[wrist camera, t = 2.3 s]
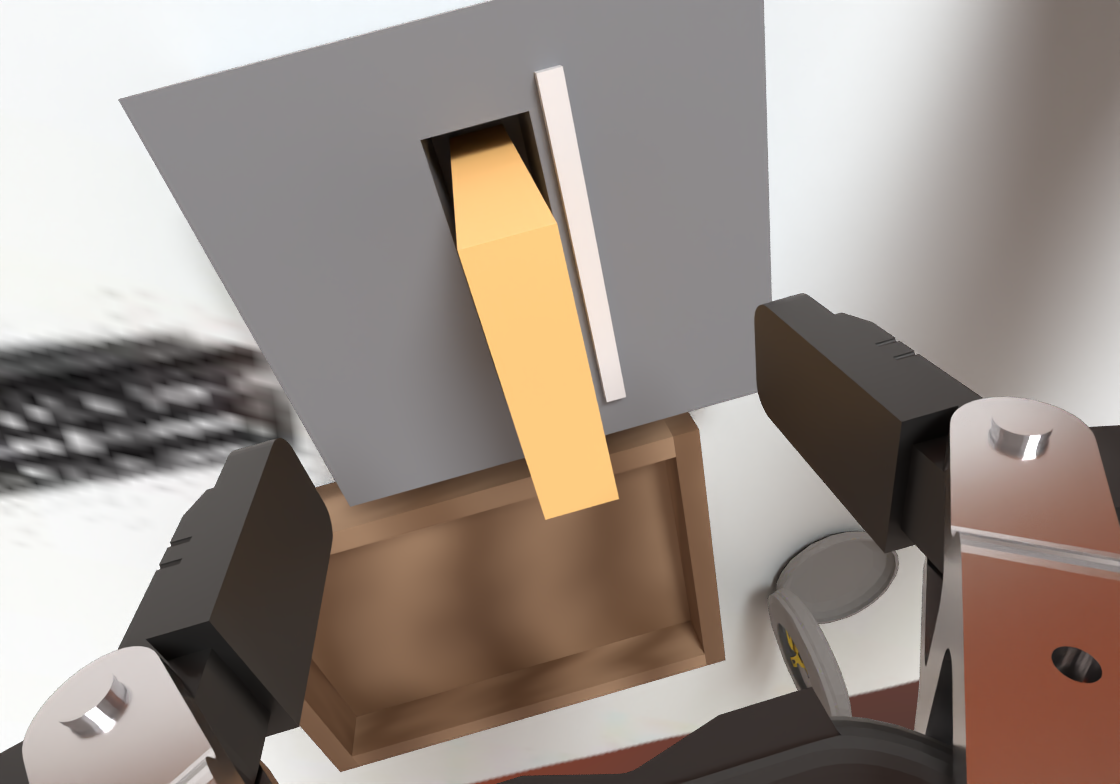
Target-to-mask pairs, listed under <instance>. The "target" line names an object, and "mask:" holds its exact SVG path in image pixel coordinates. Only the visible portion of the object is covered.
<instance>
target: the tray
mask: <svg viewBox="0 0 1120 784" xmlns="http://www.w3.org/2000/svg"><path fill="white" fill-rule="evenodd" d="M605 439H606V443H607V447H608V452H609V456H610V461H611V465H612V470H613V474H614V478H615V483H616V487H617V492H618V496H619V499H617V500H613V501H610V502H606V503H603V504H599V505H596V506H592V507H589V508H585V509H582V510H578V511H575V512H571V513H568V514H564V515H561V516H557V517H554V518H550V519H547V520H545V517H544V514H543V511H542V508H541V505H540V502H539V499H538V496H537V493H536V490H535V486H534V483H533V480H532V477H531V474H530V471H529V468H528V465H527V462H526V459H525V458H522V459H519V460H515V461H512V462H508V463H505V464H501V465H497V466H494V467H490V468H487V469H483V470H480V471H476V472H473V473H469V474H465V475H462V476H458V477H455V478H451V479H448V480H444V481H441V482H437V483H433V484H430V485H426V486H423V487H419V488H416V489H412V490H409V491H405V492H401V493H398V494H394V495H391V496H387V497H384V498H380V499H377V500H373V501H369V502H366V503H362V504H359V505H355V506H352V507H350V506H349V504H348V502H347V500H346V499H345V497H344V495H343V493H342V492H341V490H340V488H339V486H338V485H337V483H336V482H334V483H330V484H327V485H323V486H320V487H316V490H317V491H318V493H319V495H320V496H321V498H322V500H323V502H324V503H325V505H326V507H327V510H328V512H329V515H330V519H331V523H332V530H333V541H332V548H331V553H330V559H329V564H328V570H327V575H326V581H325V587H324V592H323V598H322V603H321V609H320V614H319V620H318V625H317V631H316V636H315V642H314V648H313V653H312V659H311V664H310V670H309V675H308V681H307V686H306V692H305V697H304V703H303V709H302V714H301V720H300V726H301V728H302V729H303V730H304V731H305V732H306V733H307V734H308V736H309V737H310V738H311V739H312V740H313V741H314V742H315V744H316V745H317V746H318V747H319V748H320V749H321V750H322V752H323V753H324V754H325V755H326V756H327V757H328V758H329V759H330V761H331V762H332V763H333V764H334V765H335V766H336V767H337V769H338V770H339V771H340V772H342V771H346V770H349V769H353V768H356V767H359V766H363V765H366V764H370V763H373V762H377V761H380V760H384V759H387V758H390V757H394V756H397V755H401V754H404V753H408V752H411V751H414V750H418V749H421V748H425V747H428V746H432V745H435V744H439V743H442V742H445V741H449V740H452V739H456V738H459V737H463V736H466V735H469V734H473V733H476V732H480V731H483V730H487V729H490V728H494V727H497V726H500V725H504V724H507V723H511V722H514V721H518V720H521V719H524V718H528V717H531V716H535V715H538V714H542V713H545V712H549V711H552V710H555V709H559V708H562V707H566V706H569V705H573V704H576V703H579V702H583V701H586V700H590V699H593V698H597V697H600V696H604V695H607V694H610V693H614V692H617V691H621V690H624V689H628V688H631V687H635V686H638V685H641V684H645V683H648V682H652V681H655V680H659V679H662V678H665V677H669V676H672V675H676V674H679V673H683V672H686V671H690V670H693V669H696V668H700V667H703V666H707V665H710V664H714V663H717V662H720V661H724V660H725V652H724V643H723V634H722V626H721V617H720V608H719V599H718V591H717V582H716V573H715V565H714V556H713V547H712V538H711V530H710V521H709V512H708V504H707V495H706V486H705V477H704V469H703V460H702V451H701V443H700V434H699V429H698V427H697V425H696V424H695V422H694V420H693V419H692V417H691V416H690V414H689V412H686V413H682V414H679V415H675V416H672V417H668V418H665V419H661V420H657V421H654V422H650V423H647V424H643V425H640V426H636V427H633V428H629V429H625V430H622V431H618V432H615V433H611V434H608V435H605Z"/></svg>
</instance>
